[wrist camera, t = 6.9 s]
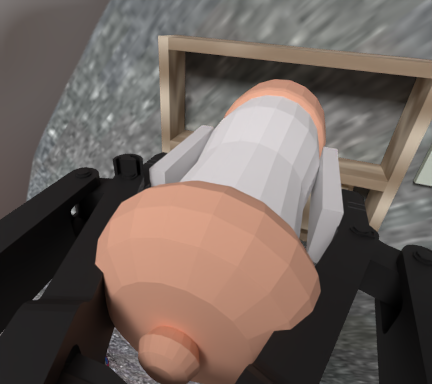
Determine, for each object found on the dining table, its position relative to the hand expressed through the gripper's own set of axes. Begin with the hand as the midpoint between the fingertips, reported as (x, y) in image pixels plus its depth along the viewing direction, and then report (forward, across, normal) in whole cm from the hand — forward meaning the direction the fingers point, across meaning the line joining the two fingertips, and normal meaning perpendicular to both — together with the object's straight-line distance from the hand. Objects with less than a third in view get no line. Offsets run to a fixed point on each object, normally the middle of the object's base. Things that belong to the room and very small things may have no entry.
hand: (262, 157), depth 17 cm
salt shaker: (+6, 0, 0) cm, 6 cm away
